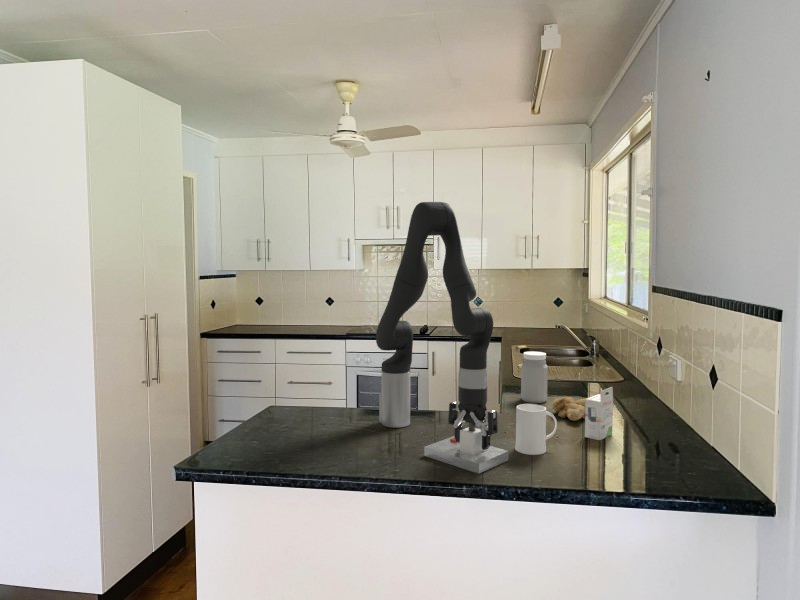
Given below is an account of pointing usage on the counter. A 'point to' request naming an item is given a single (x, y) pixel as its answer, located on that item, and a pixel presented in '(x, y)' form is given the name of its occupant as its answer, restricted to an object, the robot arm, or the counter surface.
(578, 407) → the ginger root
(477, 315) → the robot arm
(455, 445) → the socket plate
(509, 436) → the counter surface
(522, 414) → the mug
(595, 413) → the ink box
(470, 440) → the plug
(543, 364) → the jar
